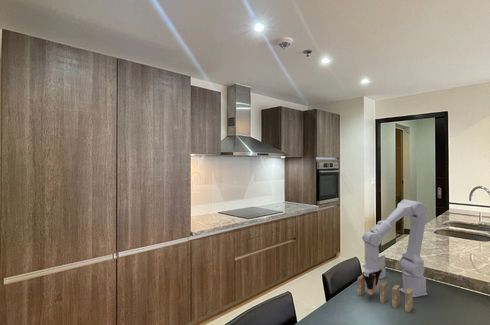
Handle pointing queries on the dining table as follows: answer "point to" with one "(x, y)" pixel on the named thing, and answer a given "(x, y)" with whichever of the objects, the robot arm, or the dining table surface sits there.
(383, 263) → the skincare box
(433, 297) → the dining table surface
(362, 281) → the domino
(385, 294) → the domino
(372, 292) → the domino
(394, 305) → the domino
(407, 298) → the domino
